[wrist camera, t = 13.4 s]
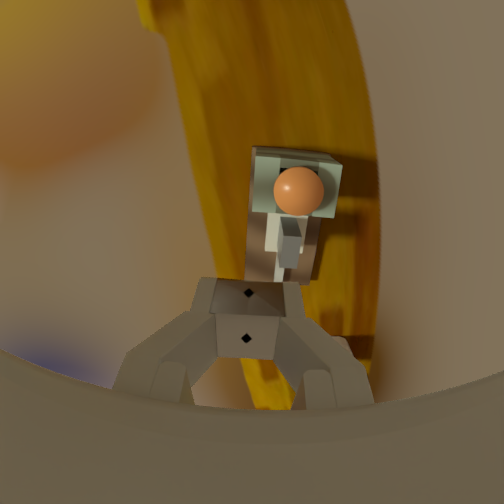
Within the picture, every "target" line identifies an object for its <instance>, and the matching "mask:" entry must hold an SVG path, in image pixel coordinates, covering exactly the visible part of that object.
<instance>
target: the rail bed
mask: <svg viewBox="0 0 504 504" xmlns="http://www.w3.org/2000/svg"><path fill="white" fill-rule="evenodd" d="M294 166H302V167H306V168H309V169H311V170H312V171H314V172H315V173H316V174H317V175H318V177H319V178H320V179H321V181H322V184H323V187H324V196H323V199H322V202H321V204H320V205H319V206H318V208H317V209H316V210H314V211H313V212H311V213H309V214H307V215H303V216H308V221H307V227H306V234H305V240H304V246H303V252H302V254H300V253H299V259H298V265H297V269H292V268H279V259H278V252H270V251H265V238H266V227H267V216H268V213H279V214H287V213H286V212H284V211H283V210H281V209H280V208H279V206H278V205H277V203H276V201H275V198H274V191H273V190H274V183H275V181H276V179H277V177H278V176H279V175H280V173H281V168H290V167H294ZM342 166H343V165H341V164H340V163H339V162H337V161H336V160H334V159H333V158H332V157H331V155H330V154H329V153H323V152H315V151H307V150H298V149H288V148H277V147H265V146H252V161H251V177H250V193H249V210H248V226H247V243H246V261H245V278H244V280H250V281H265V282H298V283H299V284H300V285H309V283H310V278H311V273H312V268H313V263H314V258H315V253H316V247H317V242H318V236H319V231H320V225H321V219H322V217H326V218H334V215H335V209H336V203H337V198H338V192H339V186H340V179H341V173H342Z"/></svg>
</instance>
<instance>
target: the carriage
mask: <svg viewBox="0 0 504 504" xmlns="http://www.w3.org/2000/svg"><path fill="white" fill-rule="evenodd" d="M307 221H308V216H294V215H290V214H279V213H268V216H267V227H266V238H265V251H270V252H278V259H279V268H292V269H297V265H298V259H299V253H300V254H302V252H303V246H304V240H305V234H306V227H307Z"/></svg>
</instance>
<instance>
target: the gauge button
mask: <svg viewBox="0 0 504 504" xmlns="http://www.w3.org/2000/svg"><path fill="white" fill-rule="evenodd" d="M273 191H274V198H275V201H276V203H277V205H278V206H279V208H280V209H281V210H283V211H284V212H286V213H287V214H290V215H294V216H303V215H307V214H309V213H311V212H313V211H314V210H316V209H317V208H318V206H319V205H320V204H321V202H322V199H323V196H324V187H323V184H322V181H321V179H320V178H319V177H318V175H317V174H316V173H315V172H314V171H312V170H311V169H309V168H306V167H302V166H294V167H290V168H281V173H280V175H279V176H278V177H277V179H276V181H275V183H274V190H273Z"/></svg>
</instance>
